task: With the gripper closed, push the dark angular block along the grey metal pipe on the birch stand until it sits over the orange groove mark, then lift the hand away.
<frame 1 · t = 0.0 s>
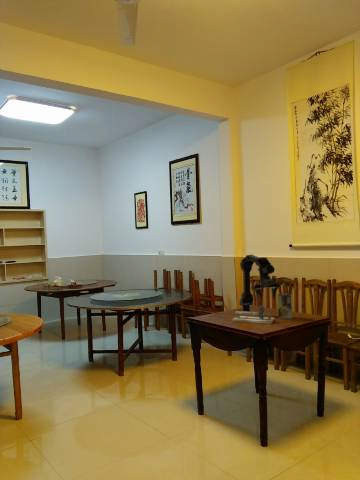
hand: (267, 299, 258), 15 cm above the table, tool pointing down, fingers open, 9 cm apart
coffee box: (285, 317, 271), on the table
pipe stand: (253, 320, 266), on the table
dark angular block: (261, 311, 263), point 6 cm above the table, slide at 0.0 cm
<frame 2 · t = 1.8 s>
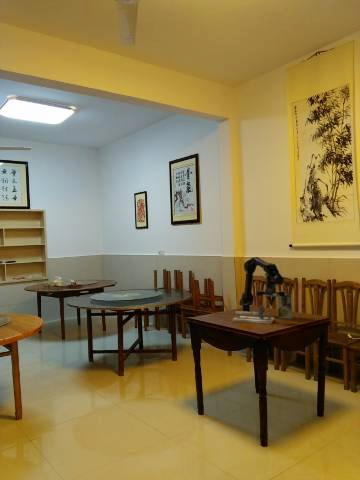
hand: (271, 306, 260), 10 cm above the table, tool pointing down, fingers closed
nothing on the table moved.
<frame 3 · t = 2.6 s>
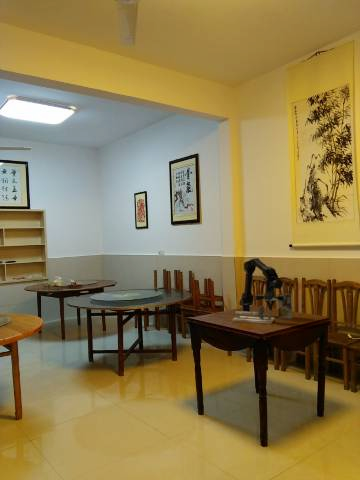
hand: (271, 310, 261), 7 cm above the table, tool pointing down, fingers closed
nothing on the table moved.
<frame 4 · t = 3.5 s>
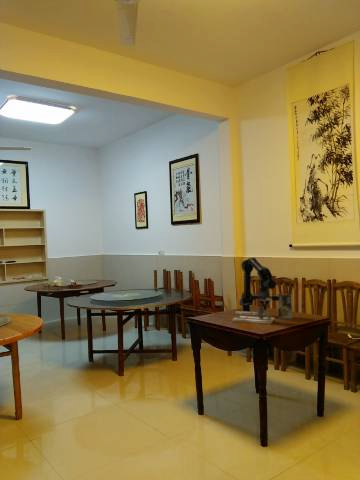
hand: (265, 310, 262), 7 cm above the table, tool pointing down, fingers closed
dark angular block: (261, 311, 263), point 6 cm above the table, slide at 0.3 cm, touching gripper
everything else where it was.
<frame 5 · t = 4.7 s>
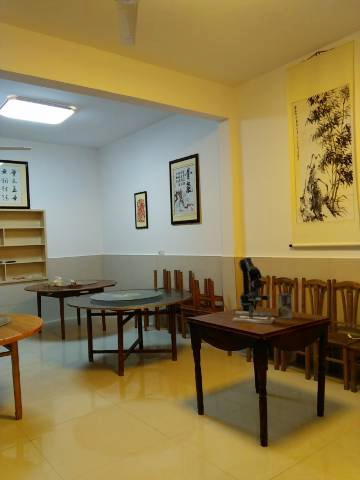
hand: (255, 309, 265), 7 cm above the table, tool pointing down, fingers closed
dark angular block: (251, 311, 266), point 6 cm above the table, slide at 7.2 cm, touching gripper
everything else where it was.
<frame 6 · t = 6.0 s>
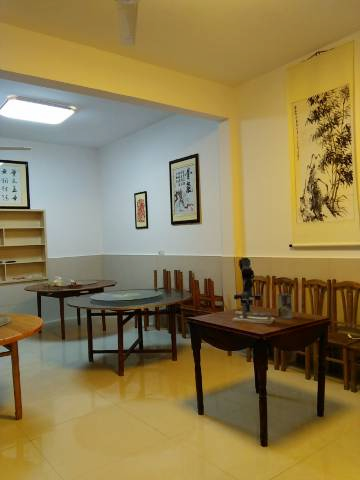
hand: (248, 309, 267), 7 cm above the table, tool pointing down, fingers closed
dark angular block: (244, 311, 268), point 6 cm above the table, slide at 11.7 cm, touching gripper
everything else where it was.
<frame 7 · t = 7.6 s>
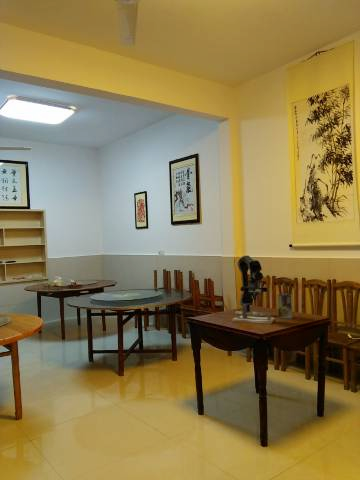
hand: (255, 301, 269), 13 cm above the table, tool pointing down, fingers closed
dark angular block: (244, 311, 268), point 6 cm above the table, slide at 11.7 cm
everything else where it was.
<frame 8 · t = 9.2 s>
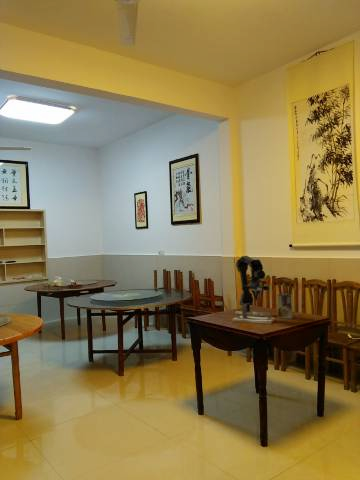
hand: (256, 300, 272), 13 cm above the table, tool pointing down, fingers closed
nothing on the table moved.
at the end: dark angular block slide at 11.7 cm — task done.
